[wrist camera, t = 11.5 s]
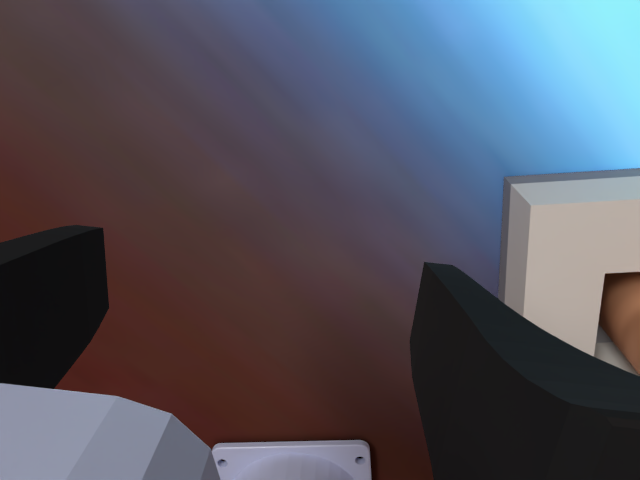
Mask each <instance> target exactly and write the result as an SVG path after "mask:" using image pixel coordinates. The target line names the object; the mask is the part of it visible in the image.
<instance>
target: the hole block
mask: <svg viewBox="0 0 640 480" xmlns="http://www.w3.org/2000/svg"><path fill="white" fill-rule="evenodd" d="M624 272H640V168H636V169H620V170H605V171H589V172H574V173H558V174H542V175H527V176H511V177H504V189H503V210H502V230H501V251H500V271H499V292H498V299H499V300H500V301H502V302H503V303H504V304H506V305H507V306H508V307H510V308H511V309H513V310H514V311H515V312H517V313H518V314H520V315H521V316H523V317H524V318H526V319H527V320H529V321H530V322H532V323H534V324H535V325H537V326H538V327H540V328H541V329H543V330H545V331H546V332H548V333H550V334H551V335H553V336H555V337H557V338H559V339H561V340H562V341H564V342H566V343H568V344H570V345H572V346H573V347H575V348H577V349H579V350H581V351H583V352H585V353H587V354H589V355H591V356H593V357H596V358H598V359H600V360H602V361H605V362H607V363H609V364H611V365H614V366H616V367H618V368H621V369H623V370H625V371H627V372H630V373H632V374H635V375H638V376H640V375H639V373H638V372H637V371H636V370H635V368H634V367H633V366H632V365H631V363H630V362H629V361H628V360H627V359H626V357H625V356H624V355H623V354H622V352H621V351H620V350H619V349H618V347H617V346H616V345H615V344H614V342H613V341H612V340H611V339H610V337H609V336H608V335H607V334H606V332H605V331H604V330H603V329H602V328H601V326H600V325H599V324H598V322H599V314H600V306H601V299H602V291H603V284H604V276H605V273H624Z"/></svg>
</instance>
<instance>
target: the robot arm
mask: <svg viewBox="0 0 640 480" xmlns="http://www.w3.org/2000/svg"><path fill="white" fill-rule="evenodd" d="M108 309H109V302H108V288H107V275H106V261H105V248H104V234H103V228H98V227H89V226H80V225H73V226H65V227H59V228H54V229H50V230H46V231H42V232H38V233H34V234H31V235H27V236H23V237H20V238H16V239H13V240H9V241H5V242H2V243H0V480H372V478H371V462H370V447H369V444H368V443H367V442H365V441H363V440H333V441H289V442H246V443H219V444H216V445H215V446H214V447H213V450H212V451H211V449H210V448H209V447H208V446H207V445H206V444H205V443H204V442H203V441H201V440H200V439H199V438H198V437H197V436H196V435H195V434H194V433H193V432H191V431H190V430H189V429H188V428H187V427H186V426H185V425H184V424H182V423H181V422H180V421H179V420H178V419H177V418H176V417H175V416H174V415H172V414H170V413H167V412H164V411H161V410H158V409H155V408H152V407H149V406H146V405H143V404H140V403H137V402H134V401H131V400H127V399H124V398H121V397H118V396H110V395H101V394H92V393H83V392H75V391H66V390H57V389H54V388H55V387H56V385H57V384H58V383H59V382H60V380H61V379H62V378H63V377H64V375H65V374H66V373H67V371H68V370H69V369H70V368H71V366H72V365H73V364H74V362H75V361H76V360H77V359H78V357H79V356H80V355H81V353H82V352H83V351H84V349H85V348H86V347H87V345H88V344H89V343H90V341H91V340H92V338H93V336H94V334H95V333H96V331H97V329H98V328H99V326H100V324H101V322H102V320H103V318H104V316H105V314H106V312H107V311H108ZM410 351H411V366H412V378H413V383H414V388H415V392H416V397H417V402H418V406H419V411H420V415H421V420H422V424H423V429H424V433H425V438H426V442H427V447H428V451H429V456H430V460H431V465H432V471H433V477H434V480H640V376H638V375H635V374H632V373H630V372H627V371H625V370H623V369H621V368H618V367H616V366H614V365H611V364H609V363H607V362H605V361H602V360H600V359H598V358H596V357H593V356H591V355H589V354H587V353H585V352H583V351H581V350H579V349H577V348H575V347H573V346H572V345H570V344H568V343H566V342H564V341H562V340H561V339H559V338H557V337H555V336H553V335H551V334H550V333H548V332H546V331H545V330H543V329H541V328H540V327H538V326H537V325H535V324H534V323H532V322H530V321H529V320H527V319H526V318H524V317H523V316H521V315H520V314H518V313H517V312H515V311H514V310H513V309H511V308H510V307H508V306H507V305H506V304H504V303H503V302H502V301H500V300H499V299H498V298H496V297H495V296H494V295H492V294H491V293H490V292H488V291H487V290H486V289H484V288H483V287H482V286H481V285H479V284H478V283H477V282H475V281H474V280H473V279H472V278H470V277H469V276H468V275H466V274H465V273H464V272H462V271H461V270H459V269H458V268H456V267H455V266H453V265H446V264H437V263H427V262H424V267H423V272H422V277H421V283H420V288H419V294H418V299H417V305H416V310H415V315H414V321H413V326H412V332H411V337H410ZM357 457H363V458H361V459H359V458H357ZM221 459H223V460H225V461H222V460H221Z"/></svg>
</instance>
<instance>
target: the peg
mask: <svg viewBox="0 0 640 480" xmlns="http://www.w3.org/2000/svg"><path fill="white" fill-rule="evenodd" d="M598 324H599V325H600V326H601V328H602V329H603V330H604V331H605V332H606V334H607V335H608V336H609V337H610V339H611V340H612V341H613V342H614V344H615V345H616V346H617V347H618V349H619V350H620V351H621V352H622V354H623V355H624V356H625V357H626V359H627V360H628V361H629V362H630V363H631V365H632V366H633V367H634V368H635V370H636V371H637V372H638V373H639V375H640V272H624V273H605V276H604V284H603V291H602V299H601V306H600V314H599V322H598Z"/></svg>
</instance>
